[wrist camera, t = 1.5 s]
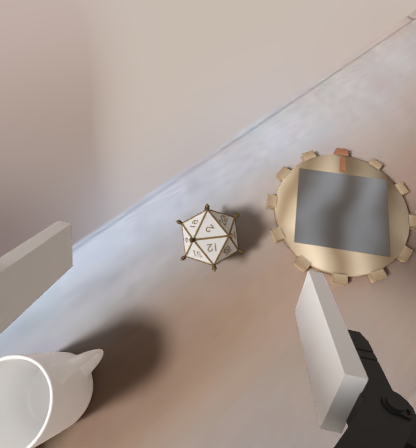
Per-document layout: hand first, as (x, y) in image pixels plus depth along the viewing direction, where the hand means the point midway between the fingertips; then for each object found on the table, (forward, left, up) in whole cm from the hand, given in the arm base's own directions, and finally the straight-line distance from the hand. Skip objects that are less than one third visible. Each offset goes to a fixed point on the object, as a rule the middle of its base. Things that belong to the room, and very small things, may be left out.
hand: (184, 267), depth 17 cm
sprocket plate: (-18, -17, -26) cm, 36 cm away
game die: (0, -9, -26) cm, 27 cm away
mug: (+14, +11, -26) cm, 31 cm away
